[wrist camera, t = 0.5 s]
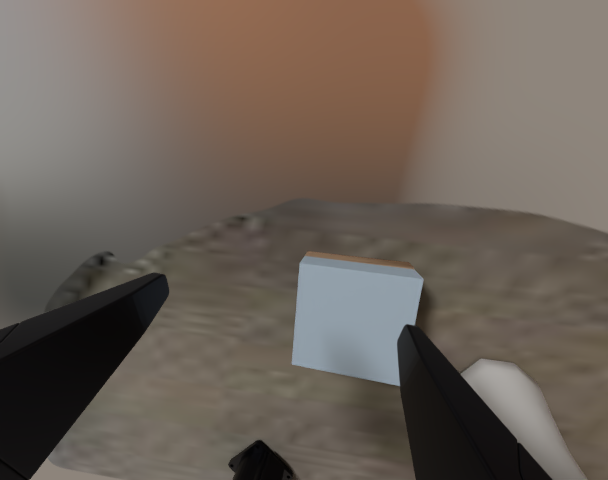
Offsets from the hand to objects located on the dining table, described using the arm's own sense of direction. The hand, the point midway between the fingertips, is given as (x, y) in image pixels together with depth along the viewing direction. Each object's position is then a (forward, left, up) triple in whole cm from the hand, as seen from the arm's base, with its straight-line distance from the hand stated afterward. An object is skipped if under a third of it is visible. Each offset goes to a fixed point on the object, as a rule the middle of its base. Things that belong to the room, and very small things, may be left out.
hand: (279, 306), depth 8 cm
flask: (+1, -23, -16) cm, 28 cm away
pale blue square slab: (-3, -7, -14) cm, 16 cm away
